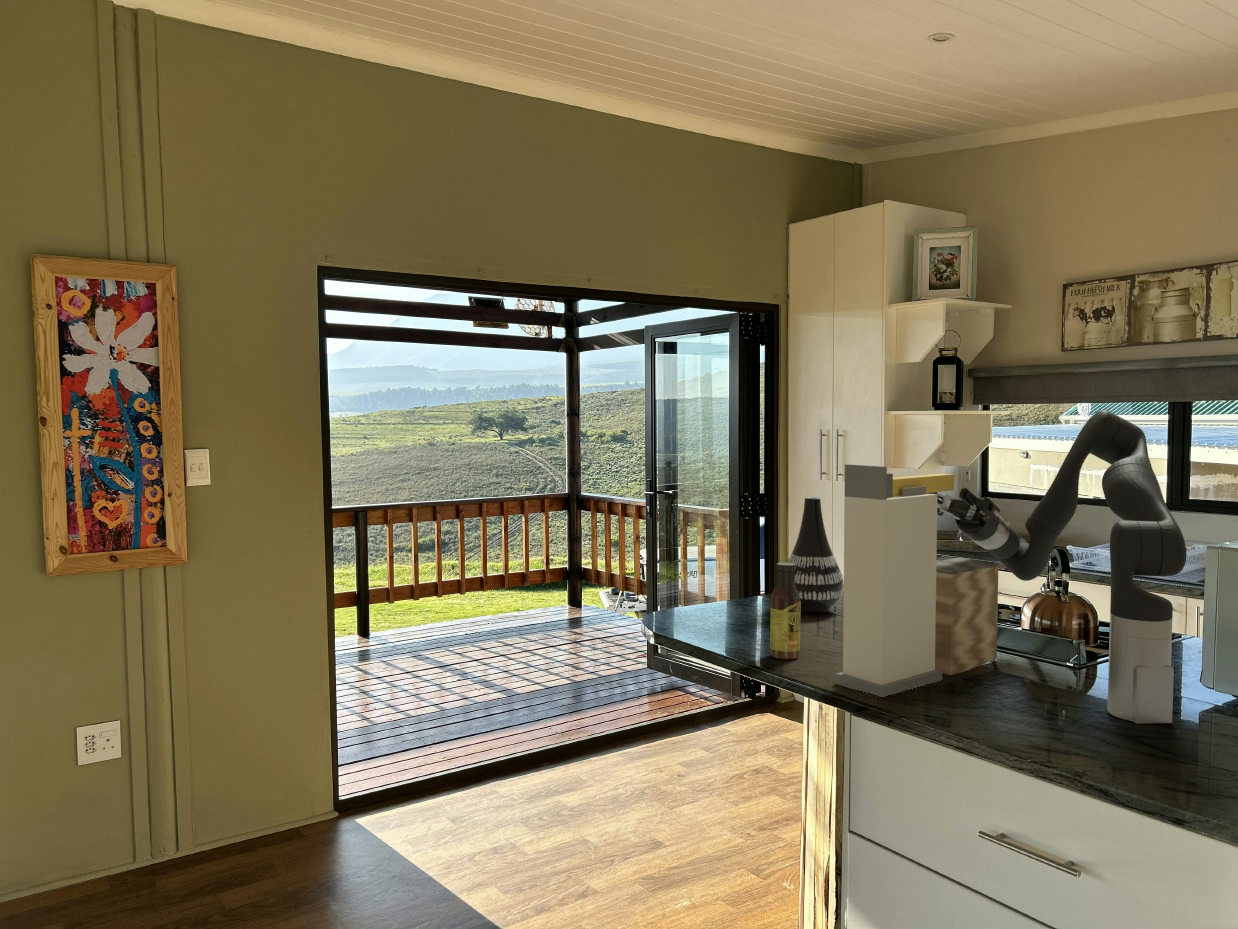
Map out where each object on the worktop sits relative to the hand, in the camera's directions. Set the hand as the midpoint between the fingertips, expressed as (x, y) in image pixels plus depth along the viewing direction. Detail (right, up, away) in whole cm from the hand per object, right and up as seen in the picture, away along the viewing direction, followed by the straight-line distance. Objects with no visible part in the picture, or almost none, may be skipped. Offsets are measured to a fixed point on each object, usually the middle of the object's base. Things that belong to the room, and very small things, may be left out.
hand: (943, 490), depth 185 cm
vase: (-15, -33, +54) cm, 65 cm away
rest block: (+4, -36, +5) cm, 36 cm away
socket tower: (-13, -37, -7) cm, 40 cm away
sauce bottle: (-30, -36, +11) cm, 48 cm away
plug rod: (-9, 0, -6) cm, 11 cm away
